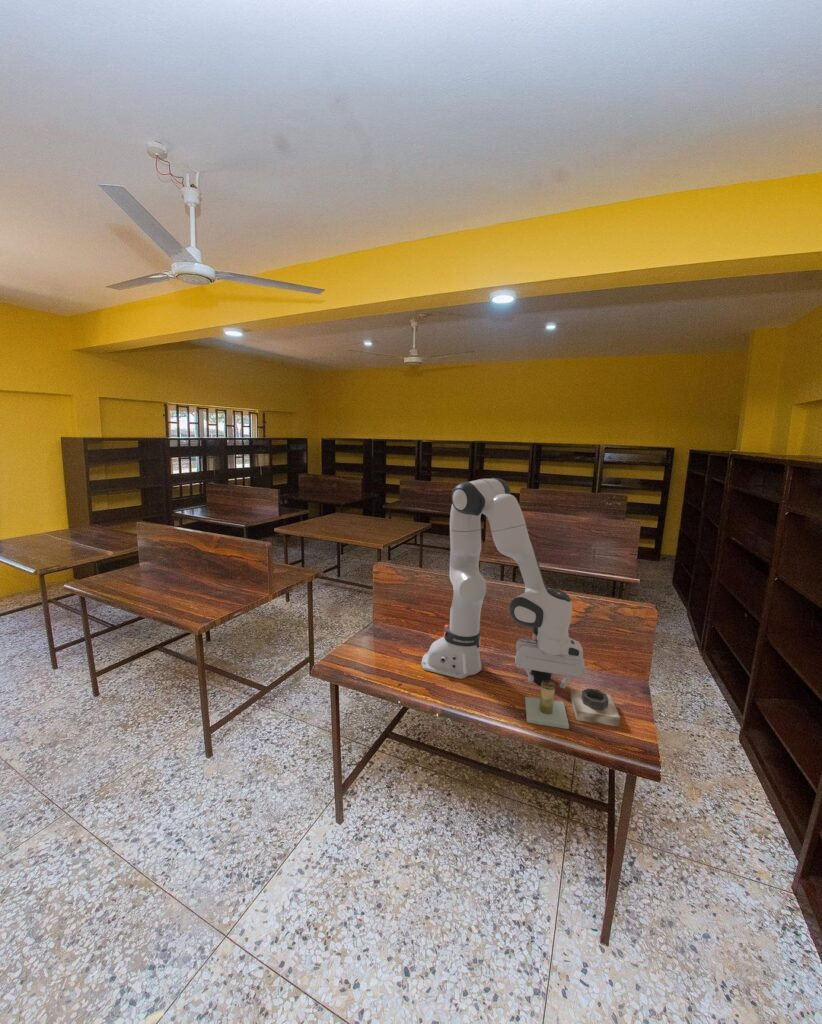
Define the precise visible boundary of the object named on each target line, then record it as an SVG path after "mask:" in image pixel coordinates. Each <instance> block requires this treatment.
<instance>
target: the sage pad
mask: <svg viewBox="0 0 822 1024" xmlns="http://www.w3.org/2000/svg"><path fill="white" fill-rule="evenodd" d="M524 702H525V703H524V704H525V715H526V716H525V717H526V723H528V724H533V725H534V724H535V725H541V726H547V727H552V728H553V727H554V728H561V729H566V730H569V729H570V724H569V719H568V716H567V711H566V708H565V707H566V706H565V703H564V701H560V700H559V701H558V700H554V703H553V713H552V714H544V713H542V712H541V711H540V710H539V706H540V698H538V697H537V698H536V697H530V696H525V697H524Z"/></svg>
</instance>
